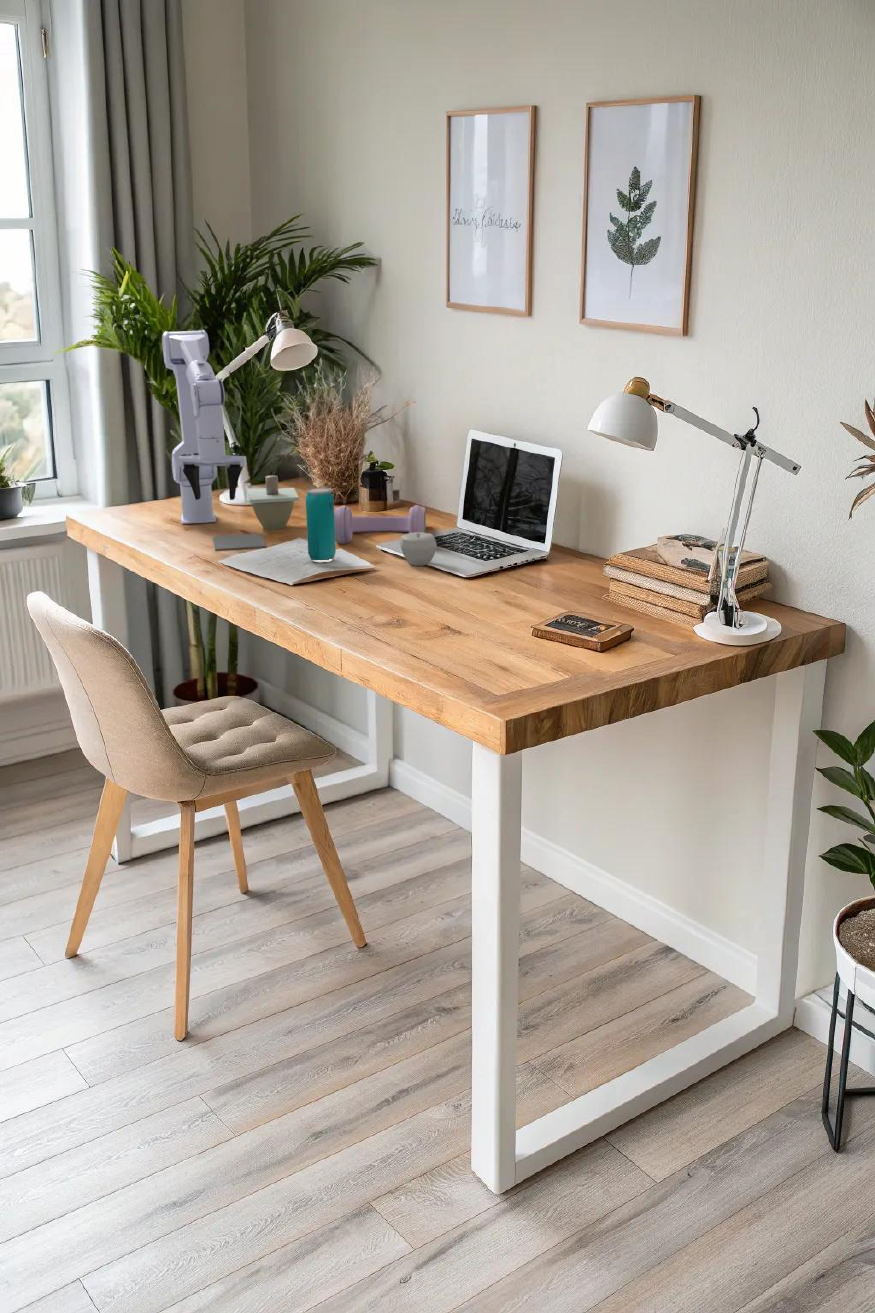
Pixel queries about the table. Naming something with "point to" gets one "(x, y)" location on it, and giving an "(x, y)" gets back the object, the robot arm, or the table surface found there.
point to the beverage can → (320, 523)
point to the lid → (272, 492)
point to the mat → (239, 542)
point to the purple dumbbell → (377, 523)
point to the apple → (418, 548)
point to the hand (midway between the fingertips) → (215, 498)
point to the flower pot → (273, 513)
